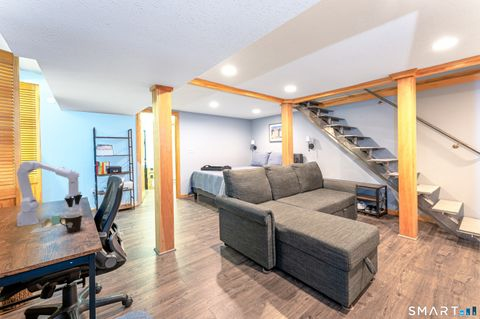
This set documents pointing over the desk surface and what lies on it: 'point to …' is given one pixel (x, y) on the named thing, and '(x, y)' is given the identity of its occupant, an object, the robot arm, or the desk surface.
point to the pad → (41, 229)
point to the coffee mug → (72, 223)
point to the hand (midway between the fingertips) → (73, 205)
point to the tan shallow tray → (48, 222)
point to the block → (56, 219)
